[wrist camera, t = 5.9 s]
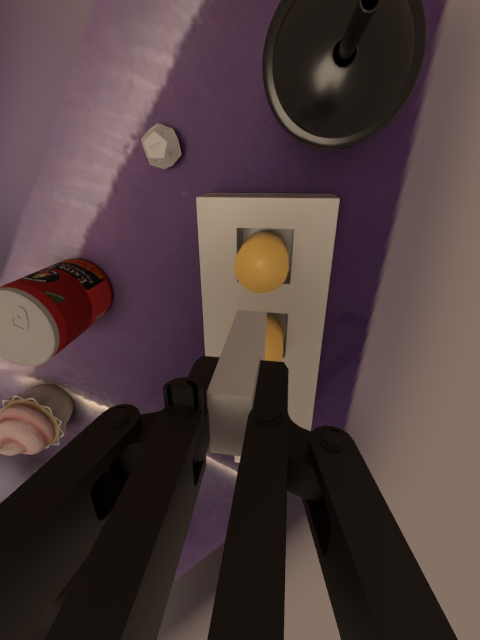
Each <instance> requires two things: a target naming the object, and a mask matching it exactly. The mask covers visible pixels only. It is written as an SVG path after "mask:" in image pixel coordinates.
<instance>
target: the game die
mask: <svg viewBox="0 0 480 640" xmlns="http://www.w3.org/2000/svg"><path fill="white" fill-rule="evenodd" d="M141 141H142V144H143V148H144V151H145V154H146V156H147V159H148V161H149V163H150V165H152V166H155V167H159V168H162V169H166V168H168V167H171V166H173V165H174V163H175V162H176V161H177V160H178V158H179V157H180V156H181V155H182V154H181V150H180V145H179V140H178V138H177V136H176V134H175V132H174V130H173V129H172V128H170V127H167V126H164V125H162V124H159V123H158V124H156V125H155V126H153V127H152V128H150V129H149V130H148V132H147V133H146V134H145V135H144V136H143V138H142V139H141Z"/></svg>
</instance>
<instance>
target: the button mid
mask: <svg viewBox="0 0 480 640" xmlns="http://www.w3.org/2000/svg"><path fill="white" fill-rule="evenodd" d="M283 339H284V330H283V326H282V324H281V323H280V321H279V320H278V319H277V318H276V317H274V316H272V315H270V314H267V323H266V344H265V360H266V361H277V362H281V360H282V357H283Z"/></svg>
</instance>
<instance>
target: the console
mask: <svg viewBox="0 0 480 640" xmlns="http://www.w3.org/2000/svg"><path fill="white" fill-rule="evenodd" d="M339 200H340V198H338V197H337V196H335V195H334V194H298V193H207V194H204V195H201V196H198V197H196V204H197V221H198V238H199V255H200V272H201V289H202V306H203V323H204V340H205V356H211V357H220V356H221V353H222V350H223V348H224V345H225V342H226V340H227V337H228V334H229V332H230V329H231V326H232V324H233V321H234V318H235V316H236V313H237V310H243V311H258V312H267V314H270V315H272V316H274V317H276V318H277V319H278V320H279V321H280V323H281V324H282V326H283V330H284V339H283V357H282V360H281V362H284V363H285V365H286V366H287V368H288V369H289V375H288V414H289V416H290V418H291V420H292V421H293V422H294V423H295V424H297V425H298V426H300V427H302V428H304V429H307V430H309V431H311V426H312V418H313V409H314V401H315V393H316V385H317V377H318V369H319V361H320V353H321V345H322V337H323V329H324V321H325V313H326V305H327V297H328V289H329V281H330V273H331V265H332V257H333V249H334V241H335V233H336V225H337V217H338V209H339ZM260 231H270V232H273V233H275V234H277V235H279V236H280V237H281V238H282V239H283V240H284V241H285V243H286V245H287V247H288V252H289V267H288V274H287V277H286V279H285V281H284V282H283V284H282V285H281V286H280V287H279V288H277V289H276V290H274V291H272V292H268V293H255V292H252V291H249V290H247V289H246V288H244V287H243V286H242V285H241V284H240V283H239V281H238V280H237V278H236V275H235V271H234V262H235V258H236V256H237V254H238V252H239V250H240V249H241V247H242V245H243V244H244V242H245V240H246V239H247V238H248V237H249V236H251V235H252V234H254V233H256V232H260Z"/></svg>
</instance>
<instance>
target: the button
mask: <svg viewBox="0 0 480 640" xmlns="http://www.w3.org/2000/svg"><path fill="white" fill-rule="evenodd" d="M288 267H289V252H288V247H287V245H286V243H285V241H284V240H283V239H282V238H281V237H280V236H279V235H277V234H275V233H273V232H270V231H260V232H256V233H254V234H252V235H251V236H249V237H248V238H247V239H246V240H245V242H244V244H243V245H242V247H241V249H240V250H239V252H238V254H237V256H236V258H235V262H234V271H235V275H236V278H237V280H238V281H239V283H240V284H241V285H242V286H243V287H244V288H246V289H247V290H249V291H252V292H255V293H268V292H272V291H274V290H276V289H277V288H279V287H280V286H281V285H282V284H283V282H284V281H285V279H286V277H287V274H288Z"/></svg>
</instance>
